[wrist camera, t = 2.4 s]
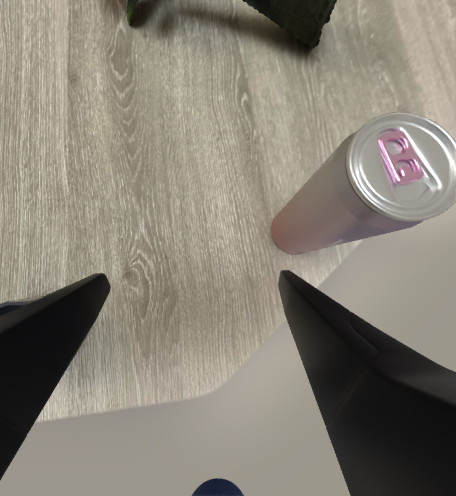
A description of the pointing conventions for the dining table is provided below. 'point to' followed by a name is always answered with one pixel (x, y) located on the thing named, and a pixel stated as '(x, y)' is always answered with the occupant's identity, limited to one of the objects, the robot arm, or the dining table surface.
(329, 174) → the beverage can
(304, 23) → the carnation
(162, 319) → the dining table surface
